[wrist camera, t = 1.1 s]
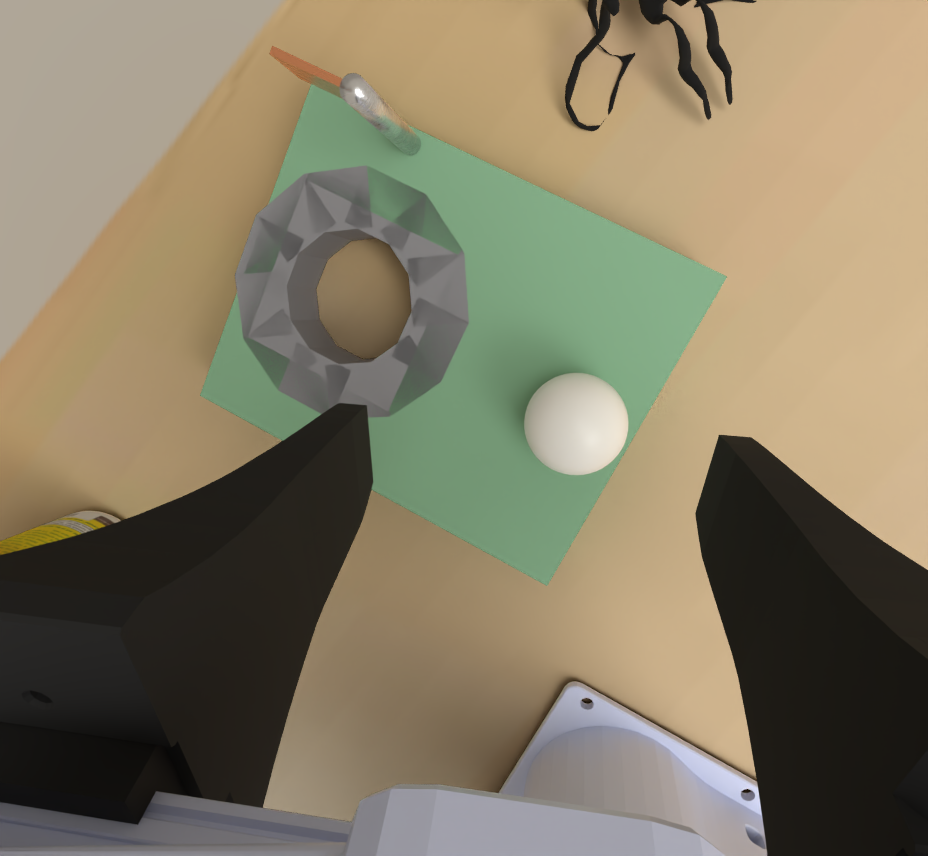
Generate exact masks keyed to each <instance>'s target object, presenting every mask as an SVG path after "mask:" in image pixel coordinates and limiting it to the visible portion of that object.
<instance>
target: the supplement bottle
mask: <svg viewBox="0 0 928 856" xmlns="http://www.w3.org/2000/svg"><path fill="white" fill-rule="evenodd" d="M119 521H121V520H120V519H118V518H116V517H114V516H112V515H110V514H107V513H103V512H99V511H81V512H76V513H72V514H70V515H67V516H64V517H61V518H59V519H56V520H54V521H51V522H49V523H46V524H43V525H41V526H38V527H36V528H33V529H31V530H28V531H25V532H23V533H20V534H18V535H15V536H13V537H10V538H8V539H5V540H2V541H0V555H2V554H6V553H11V552H15V551H19V550H22V549H26V548H30V547H34V546H38V545H42V544H46V543H50V542H54V541H58V540H62V539H65V538H69V537H72V536H76V535H79V534H82V533H85V532H89V531H92V530H95V529H98V528H101V527H105V526H108V525H111V524H113V523H116V522H119Z"/></svg>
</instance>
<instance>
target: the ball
mask: <svg viewBox="0 0 928 856" xmlns="http://www.w3.org/2000/svg"><path fill="white" fill-rule="evenodd" d="M524 430H525V435H526V439H527V442H528V444H529V447H530V448H531V450H532V452H533V453H534V455H535V456H536V457H537V458H538V459H539V460H540V461H541V462H542V463H543V464H544V465H546V466H547V467H549V468H550V469H552V470H554V471H557V472H559V473H563V474H568V475H585V474H590V473H593V472H596V471H598V470H600V469H602V468H604V467H605V466H607V465H608V464H609V463H610V462H612V461H613V460H614V459H615V458H616V456H617V455H618V454H619V453H620V451H621V450H622V448H623V446H624V444H625V441H626V438H627V433H628V414H627V410H626V407H625V404H624V402H623V400H622V398H621V397H620V395H619V394H618V393H617V391H616V390H615V389H614V388H613V387H612V386H611V385H609V384H608V383H607V382H605V381H604V380H602V379H600V378H598V377H596V376H593V375H590V374H585V373H567V374H563V375H560V376H557V377H554V378H553V379H551V380H549V381H547V382H546V383H545V384H543V385H542V386H541V387H540V388H539V389H538V390H537V391H536V392H535V393H534V395H533V396H532V398H531V400H530V401H529V404H528V406H527V409H526V413H525V419H524Z"/></svg>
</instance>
